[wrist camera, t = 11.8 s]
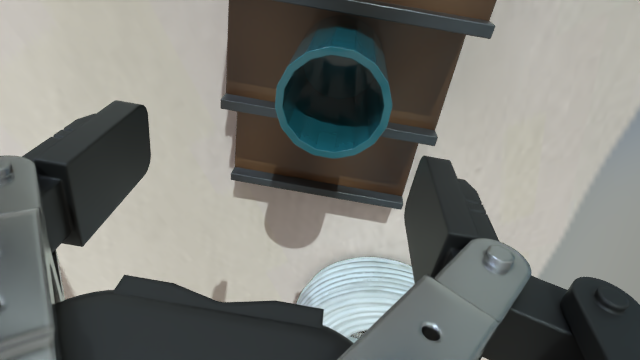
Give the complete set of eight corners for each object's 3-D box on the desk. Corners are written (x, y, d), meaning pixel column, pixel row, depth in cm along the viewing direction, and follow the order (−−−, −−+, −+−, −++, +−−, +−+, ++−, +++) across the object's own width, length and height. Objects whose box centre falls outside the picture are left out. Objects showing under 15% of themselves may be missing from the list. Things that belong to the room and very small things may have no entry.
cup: (294, 93, 28) (270, 148, 21) (304, 7, 25) (281, 37, 18) (373, 107, 28) (377, 166, 21) (392, 23, 25) (404, 59, 18)
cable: (380, 378, 52) (382, 427, 47) (266, 315, 48) (254, 361, 43) (487, 307, 44) (504, 357, 39) (361, 223, 40) (361, 267, 35)
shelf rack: (238, 165, 38) (189, 256, 27) (255, -171, 25) (177, -248, 14) (399, 193, 38) (413, 295, 27) (496, -129, 25) (594, -174, 14)
